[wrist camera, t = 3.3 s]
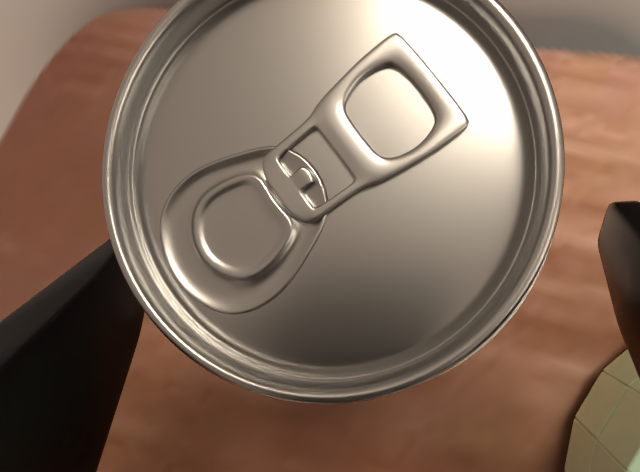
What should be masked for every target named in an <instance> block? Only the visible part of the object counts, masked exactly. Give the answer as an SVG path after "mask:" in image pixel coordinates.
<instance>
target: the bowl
mask: <svg viewBox="0 0 640 472" xmlns="http://www.w3.org/2000/svg"><path fill="white" fill-rule="evenodd" d="M603 370H604V372H601V374H600V375H599V377H598V379H597V380H596V382H595V384H594V385H593V387H592V389H591V390H590V392H589V394H588V395H587V397H586V399H585V400H584V402H583V404H582V405H581V407H580V409H579V410H578V412H577V414H576V418H575V419H574V421H573V427H572V432H571V437H570V442H569V447H568V453H567V458H566V463H565V468H564V469H565V471H564V472H640V379H639V376H638V374H637V371H636V369H635V366H634V364H633V361H632V359H631V356H630V354H629V351H628V349H627V350H626V351H624V352H623V353H622V354H621V355H620V356H618V357H617V358H616V359H615V360H614V361H612V362H611V363H610V364H609V365H608V366H606V367H605V368H604V369H603Z"/></svg>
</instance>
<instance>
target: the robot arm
mask: <svg viewBox="0 0 640 472" xmlns="http://www.w3.org/2000/svg"><path fill="white" fill-rule="evenodd" d="M598 248H599V253H600V257H601V261H602V265H603V269H604V272H605V276H606V280H607V284H608V288H609V292H610V296H611V300H612V304H613V308H614V311H615V315H616V319H617V322H618V325H619V328H620V331H621V334H622V336H623V339H624V341H625V344H626V346H627V349H628V351H629V354H630V356H631V359H632V361H633V364H634V366H635V369H636V371H637V374H638V376H639V379H640V202H638V201H623V202H613V203H611V204H610V205H609V206H608V208H607V210H606V214H605V217H604V220H603V223H602V227H601V230H600V233H599V237H598ZM144 312H145V311H144V310H143V308H142V307H141V305H140V304H139V302H138V301H137V299H136V297H135V296H134V294H133V292H132V290H131V289H130V287H129V285H128V283H127V281H126V279H125V277H124V275H123V273H122V270H121V268H120V266H119V263H118V261H117V258H116V255H115V252H114V249H113V246H112V243H111V239H109V240H108V241H107V242H105V243H104V244H103V245H101V246H100V247H99V248H97V249H96V250H95V251H93V252H92V253H91V254H89V255H88V256H87V257H85V258H84V259H83V260H81V261H80V262H79V263H77V264H76V265H75V266H74V267H72V268H71V269H70V270H68V271H67V272H66V273H64V274H63V275H62V276H60V277H59V278H58V279H56V280H55V281H54V282H52V283H51V284H50V285H48V286H47V287H46V288H44V289H43V290H42V291H40V292H39V293H38V294H37V295H35V296H34V297H33V298H31V299H30V300H29V301H27V302H26V303H25V304H23V305H22V306H21V307H19V308H18V309H17V310H15V311H14V312H13V313H11V314H10V315H9V316H7V317H6V318H5V319H3V320H2V321H1V322H0V472H96V471H97V468H98V465H99V462H100V459H101V455H102V452H103V449H104V446H105V443H106V440H107V437H108V433H109V430H110V427H111V424H112V421H113V418H114V415H115V412H116V408H117V405H118V402H119V399H120V396H121V393H122V390H123V386H124V383H125V380H126V377H127V374H128V371H129V368H130V364H131V361H132V358H133V355H134V352H135V349H136V346H137V342H138V339H139V335H140V331H141V326H142V322H143V317H144Z"/></svg>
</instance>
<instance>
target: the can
mask: <svg viewBox="0 0 640 472" xmlns="http://www.w3.org/2000/svg"><path fill="white" fill-rule="evenodd" d="M564 173H565V154H564V139H563V131H562V124H561V119H560V114H559V109H558V105H557V101H556V98H555V94H554V91H553V88H552V85H551V83H550V80H549V77H548V75H547V72H546V70H545V68H544V66H543V63H542V61H541V59H540V57H539V55H538V53H537V52H536V50H535V48H534V46H533V45H532V43H531V41H530V40H529V38H528V37H527V35H526V34H525V32H524V31H523V29H522V28H521V27H520V25H519V24H518V22H517V21H516V20H515V19H514V18H513V16H512V15H511V14H510V13H509V12H508V11H507V10H506V8H505V7H504V6H503V5H502V4H501V3H500V2H499V1H498V0H179V1H178V2H177V3H176V4H175V5H174V6H173V7H172V8H171V9H170V10H169V11H168V12H167V13H166V14H165V16H164V17H163V18H162V19H161V20H160V21H159V23H158V24H157V25H156V26H155V27H154V29H153V30H152V31H151V33H150V34H149V35H148V37H147V38H146V40H145V41H144V43H143V44H142V46H141V47H140V49H139V50H138V52H137V54H136V55H135V57H134V59H133V61H132V62H131V64H130V66H129V68H128V70H127V72H126V74H125V76H124V79H123V81H122V83H121V86H120V88H119V90H118V93H117V96H116V99H115V101H114V105H113V108H112V111H111V115H110V119H109V123H108V127H107V132H106V138H105V144H104V152H103V164H102V190H103V203H104V210H105V217H106V222H107V227H108V232H109V236H110V239H111V243H112V246H113V249H114V252H115V255H116V258H117V261H118V263H119V266H120V268H121V270H122V273H123V275H124V277H125V279H126V281H127V283H128V285H129V287H130V289H131V290H132V292H133V294H134V296H135V297H136V299H137V301H138V302H139V304H140V305H141V307H142V308H143V310H144V311H145V312H146V314H147V315H148V316H149V318H150V319H151V320H152V322H153V323H154V324H155V325H156V326H157V328H158V329H159V330H160V331H161V332H162V333H163V334H164V335H165V336H166V337H167V338H168V339H169V340H170V341H171V342H172V343H173V344H174V345H175V346H176V347H177V348H178V349H179V350H181V351H182V352H183V353H184V354H185V355H187V356H188V357H189V358H190V359H192V360H193V361H195V362H196V363H197V364H199V365H200V366H202V367H203V368H205V369H206V370H208V371H209V372H211V373H213V374H214V375H216V376H218V377H220V378H222V379H224V380H226V381H228V382H230V383H232V384H234V385H236V386H239V387H241V388H243V389H246V390H249V391H252V392H254V393H257V394H261V395H264V396H268V397H272V398H276V399H280V400H285V401H291V402H298V403H308V404H344V403H354V402H361V401H367V400H372V399H377V398H381V397H385V396H389V395H392V394H396V393H399V392H402V391H405V390H407V389H410V388H412V387H415V386H417V385H420V384H422V383H425V382H427V381H429V380H432V379H434V378H436V377H438V376H440V375H442V374H444V373H446V372H448V371H449V370H451V369H453V368H455V367H456V366H458V365H459V364H461V363H463V362H464V361H466V360H467V359H468V358H470V357H471V356H473V355H474V354H475V353H476V352H478V351H479V350H480V349H481V348H483V347H484V346H485V345H486V344H487V343H488V342H489V341H491V340H492V339H493V338H494V337H495V336H496V335H497V334H498V333H499V332H500V331H501V330H502V328H503V327H504V326H505V325H506V324H507V323H508V322H509V320H510V319H511V318H512V317H513V316H514V314H515V313H516V312H517V310H518V309H519V308H520V306H521V305H522V303H523V302H524V300H525V299H526V297H527V296H528V294H529V292H530V291H531V289H532V287H533V285H534V283H535V282H536V280H537V278H538V276H539V273H540V271H541V269H542V267H543V265H544V262H545V260H546V257H547V254H548V251H549V248H550V245H551V242H552V238H553V235H554V232H555V228H556V225H557V221H558V217H559V212H560V207H561V201H562V195H563V187H564Z"/></svg>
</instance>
